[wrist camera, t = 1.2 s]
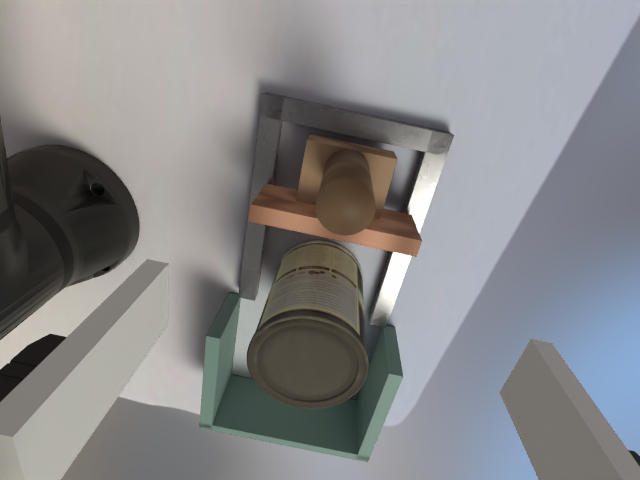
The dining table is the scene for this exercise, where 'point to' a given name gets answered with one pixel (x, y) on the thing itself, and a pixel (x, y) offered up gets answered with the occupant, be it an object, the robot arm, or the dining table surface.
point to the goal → (289, 421)
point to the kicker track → (350, 124)
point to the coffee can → (312, 329)
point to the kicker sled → (340, 198)
